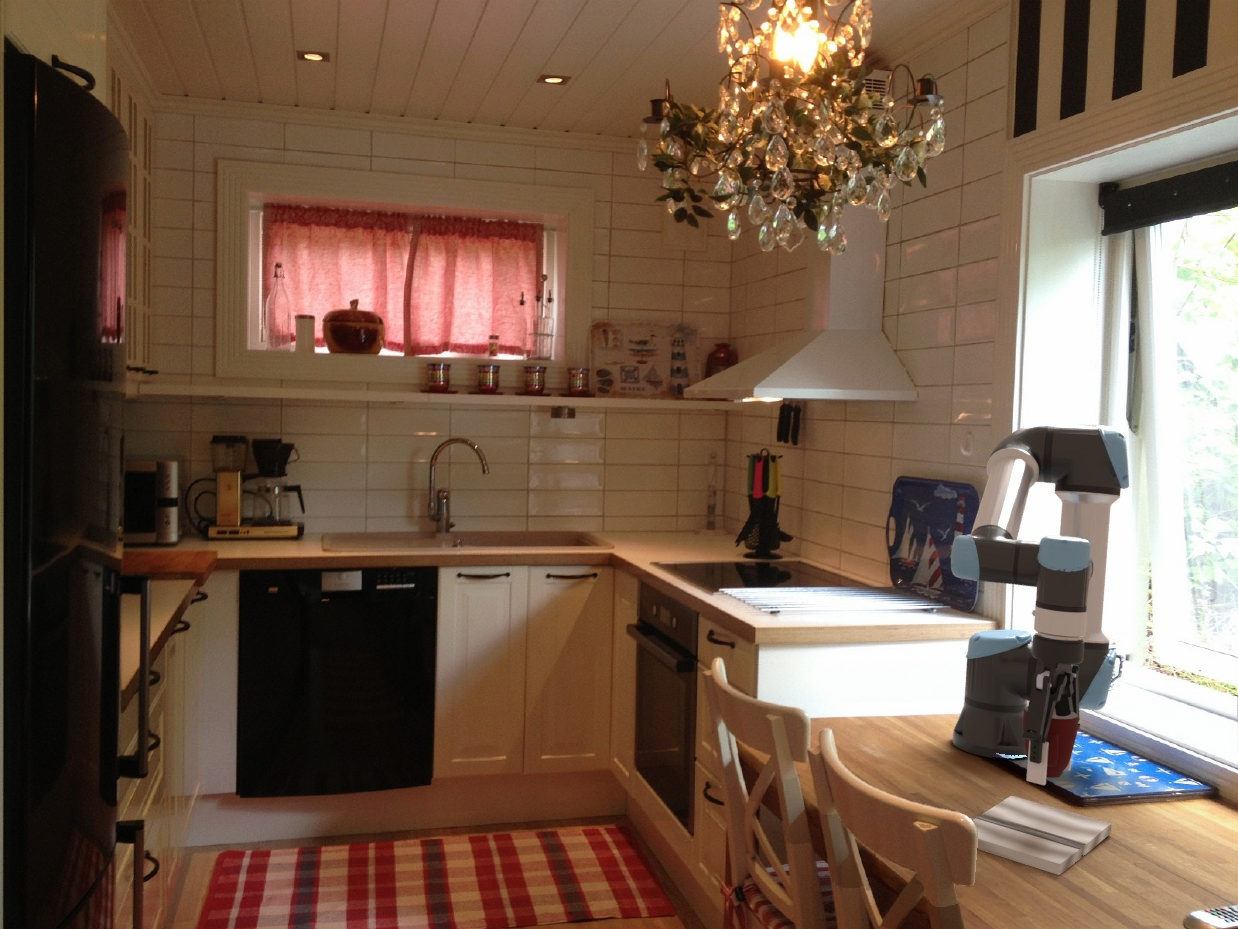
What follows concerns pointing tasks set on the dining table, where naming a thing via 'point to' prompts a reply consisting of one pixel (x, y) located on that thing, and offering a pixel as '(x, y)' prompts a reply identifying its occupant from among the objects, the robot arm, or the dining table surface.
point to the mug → (1058, 742)
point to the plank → (1050, 822)
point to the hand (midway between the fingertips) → (1048, 775)
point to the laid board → (1026, 846)
